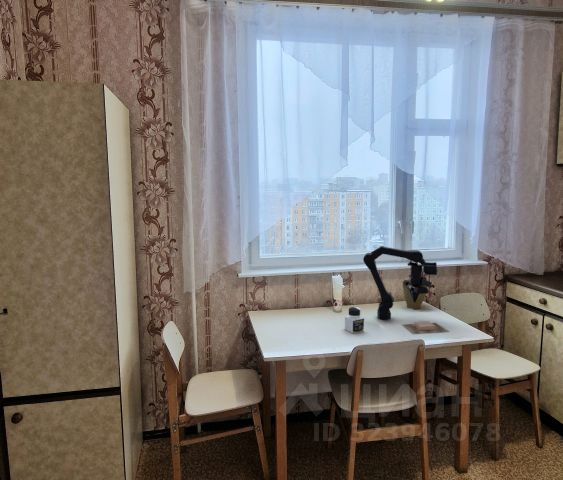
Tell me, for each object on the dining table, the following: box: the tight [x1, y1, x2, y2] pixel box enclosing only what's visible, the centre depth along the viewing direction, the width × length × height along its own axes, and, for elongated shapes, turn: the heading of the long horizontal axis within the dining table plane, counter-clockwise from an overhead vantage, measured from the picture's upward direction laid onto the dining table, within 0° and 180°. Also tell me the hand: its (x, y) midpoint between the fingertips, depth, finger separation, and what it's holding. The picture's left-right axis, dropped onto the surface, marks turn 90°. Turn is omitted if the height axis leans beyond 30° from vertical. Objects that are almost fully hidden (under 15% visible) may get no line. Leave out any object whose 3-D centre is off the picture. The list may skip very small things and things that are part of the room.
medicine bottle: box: [344, 306, 365, 334], centre depth 211 cm, size 7×7×12 cm
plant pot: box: [402, 278, 428, 310], centre depth 249 cm, size 15×15×16 cm
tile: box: [413, 320, 435, 330], centre depth 211 cm, size 8×2×7 cm
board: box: [401, 322, 450, 335], centre depth 211 cm, size 20×14×1 cm
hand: (414, 302), depth 220 cm, fingers closed
